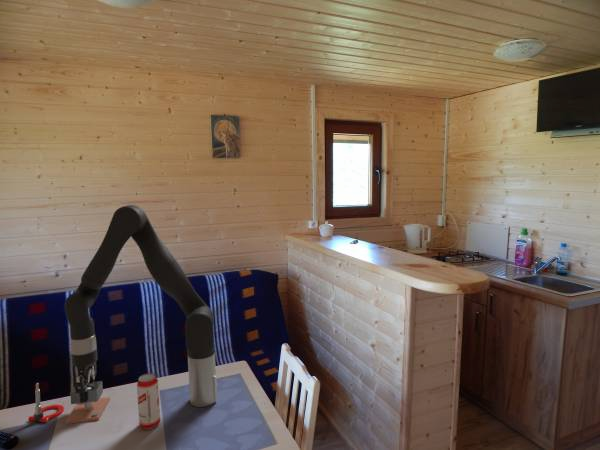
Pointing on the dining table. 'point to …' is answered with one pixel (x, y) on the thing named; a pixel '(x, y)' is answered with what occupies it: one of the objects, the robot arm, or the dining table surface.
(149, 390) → the beer can
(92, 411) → the keeper plate
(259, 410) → the dining table surface
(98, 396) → the grey hollow block
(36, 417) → the tow hook
